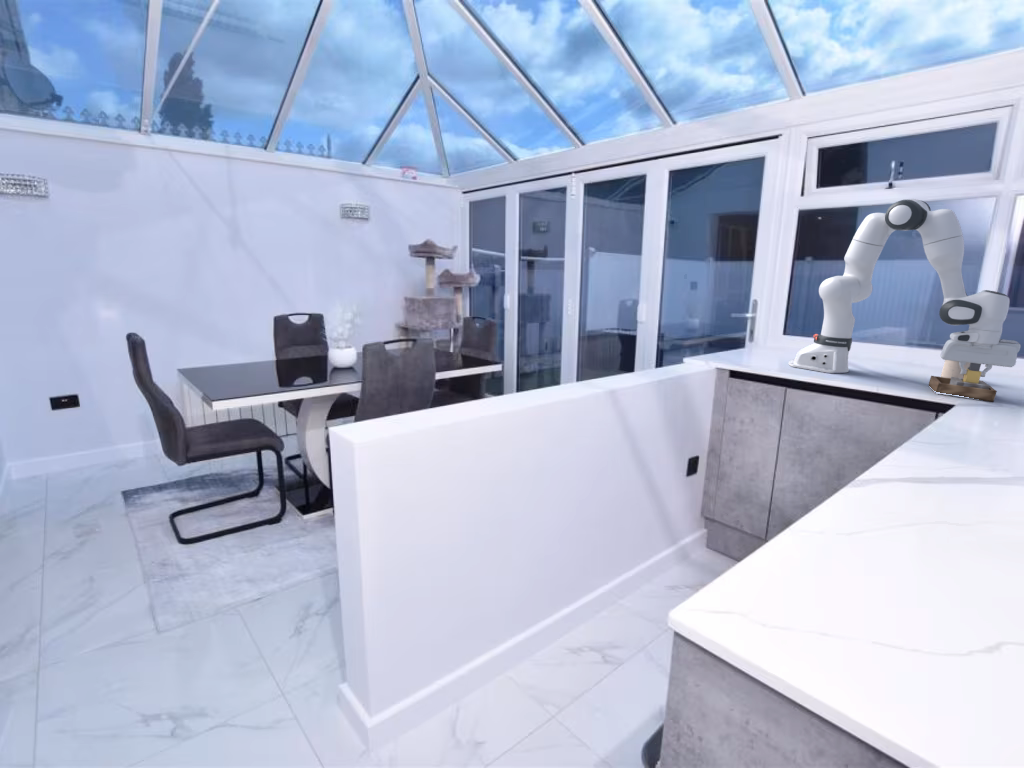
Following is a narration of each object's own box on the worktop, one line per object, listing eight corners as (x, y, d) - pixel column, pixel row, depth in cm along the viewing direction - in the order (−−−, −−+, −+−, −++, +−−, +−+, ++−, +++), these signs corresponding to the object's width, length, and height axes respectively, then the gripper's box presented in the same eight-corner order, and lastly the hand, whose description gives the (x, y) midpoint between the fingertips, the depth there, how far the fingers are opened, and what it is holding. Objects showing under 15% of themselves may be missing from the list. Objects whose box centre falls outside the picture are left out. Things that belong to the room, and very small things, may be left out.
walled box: (935, 394, 186) (939, 380, 184) (928, 385, 197) (931, 373, 196) (993, 402, 178) (997, 388, 177) (982, 393, 190) (986, 380, 189)
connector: (963, 389, 185) (970, 362, 183) (960, 387, 188) (968, 360, 186) (976, 391, 184) (984, 363, 181) (973, 388, 187) (981, 362, 184)
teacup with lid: (967, 383, 204) (976, 354, 201) (938, 378, 210) (946, 350, 207) (969, 378, 213) (977, 351, 210) (941, 374, 218) (948, 347, 215)
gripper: (1019, 339, 179) (1007, 378, 183) (945, 333, 189) (935, 369, 192) (1025, 342, 174) (1013, 381, 177) (948, 335, 183) (938, 372, 187)
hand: (972, 375), depth 185 cm, fingers closed on connector, 4 cm apart
